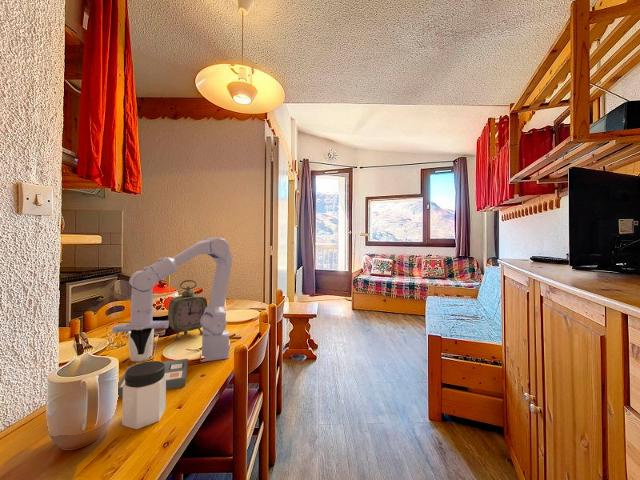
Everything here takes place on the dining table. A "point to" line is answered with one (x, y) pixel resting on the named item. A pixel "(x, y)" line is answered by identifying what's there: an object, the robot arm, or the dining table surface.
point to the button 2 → (176, 366)
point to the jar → (144, 394)
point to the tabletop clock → (186, 311)
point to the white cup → (148, 348)
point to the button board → (173, 377)
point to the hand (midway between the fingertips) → (141, 353)
